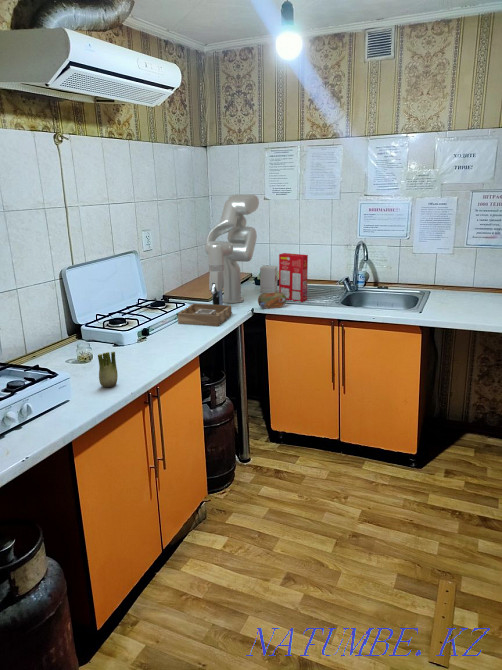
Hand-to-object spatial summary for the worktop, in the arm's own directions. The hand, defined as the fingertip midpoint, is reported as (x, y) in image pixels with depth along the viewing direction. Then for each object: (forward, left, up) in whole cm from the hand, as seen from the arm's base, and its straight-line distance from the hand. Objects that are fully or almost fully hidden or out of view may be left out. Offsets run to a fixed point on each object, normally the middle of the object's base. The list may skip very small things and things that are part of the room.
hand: (217, 303), depth 267 cm
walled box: (+18, 0, -4) cm, 18 cm away
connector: (0, 0, -4) cm, 4 cm away
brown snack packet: (-11, +26, -4) cm, 29 cm away
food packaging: (-31, +33, -4) cm, 45 cm away
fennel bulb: (+103, -2, -4) cm, 103 cm away
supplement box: (-48, +15, -4) cm, 50 cm away
